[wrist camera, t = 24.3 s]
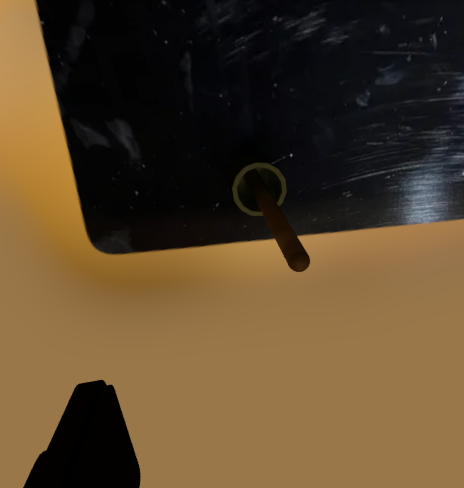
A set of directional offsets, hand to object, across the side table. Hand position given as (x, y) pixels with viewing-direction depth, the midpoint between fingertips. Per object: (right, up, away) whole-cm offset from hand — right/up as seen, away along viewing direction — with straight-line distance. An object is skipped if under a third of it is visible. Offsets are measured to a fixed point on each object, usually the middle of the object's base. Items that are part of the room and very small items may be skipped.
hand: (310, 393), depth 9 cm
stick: (0, +11, +28) cm, 30 cm away
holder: (0, +10, +28) cm, 30 cm away
